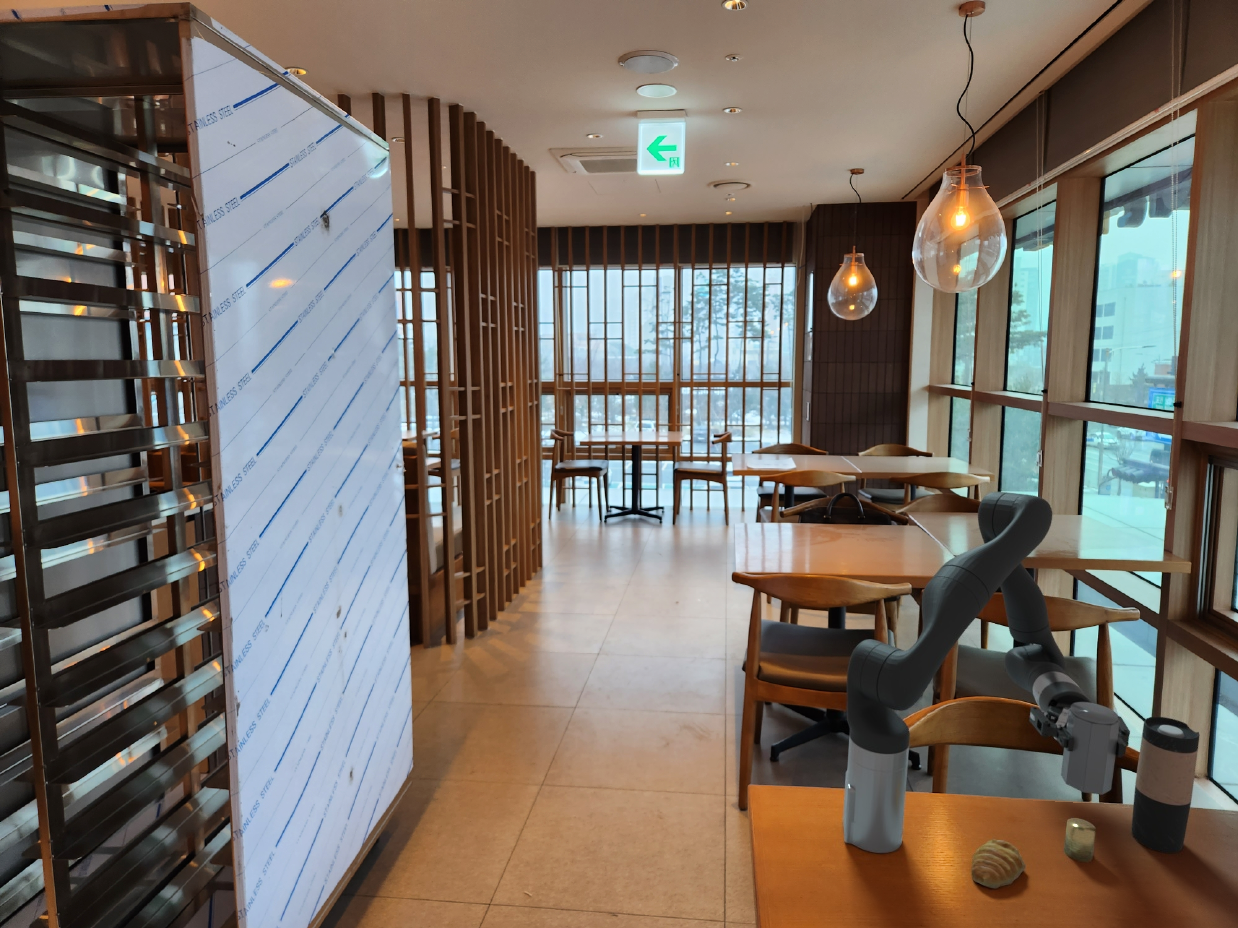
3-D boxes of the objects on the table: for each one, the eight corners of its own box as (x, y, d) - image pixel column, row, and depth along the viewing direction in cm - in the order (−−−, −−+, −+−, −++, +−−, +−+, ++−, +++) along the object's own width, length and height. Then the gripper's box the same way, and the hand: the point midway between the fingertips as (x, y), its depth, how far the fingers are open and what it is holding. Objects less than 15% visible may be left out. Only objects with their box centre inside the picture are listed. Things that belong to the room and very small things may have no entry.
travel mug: (1124, 839, 132) (1138, 727, 129) (1134, 819, 137) (1148, 711, 134) (1180, 860, 127) (1196, 744, 123) (1188, 838, 132) (1204, 726, 129)
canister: (1069, 790, 124) (1078, 718, 122) (1057, 768, 130) (1065, 699, 128) (1115, 796, 122) (1125, 723, 120) (1100, 774, 129) (1109, 704, 127)
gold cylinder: (1068, 859, 127) (1071, 831, 126) (1060, 844, 131) (1063, 816, 130) (1096, 863, 126) (1099, 834, 125) (1087, 847, 130) (1090, 819, 129)
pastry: (1004, 900, 118) (1007, 876, 117) (959, 878, 123) (960, 855, 122) (1027, 870, 124) (1029, 848, 124) (982, 850, 129) (984, 829, 129)
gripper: (1019, 676, 140) (1047, 720, 124) (1109, 685, 137) (1151, 731, 121) (1015, 715, 141) (1042, 764, 125) (1104, 725, 138) (1145, 777, 122)
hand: (1096, 748), depth 123 cm, fingers closed on canister, 6 cm apart
